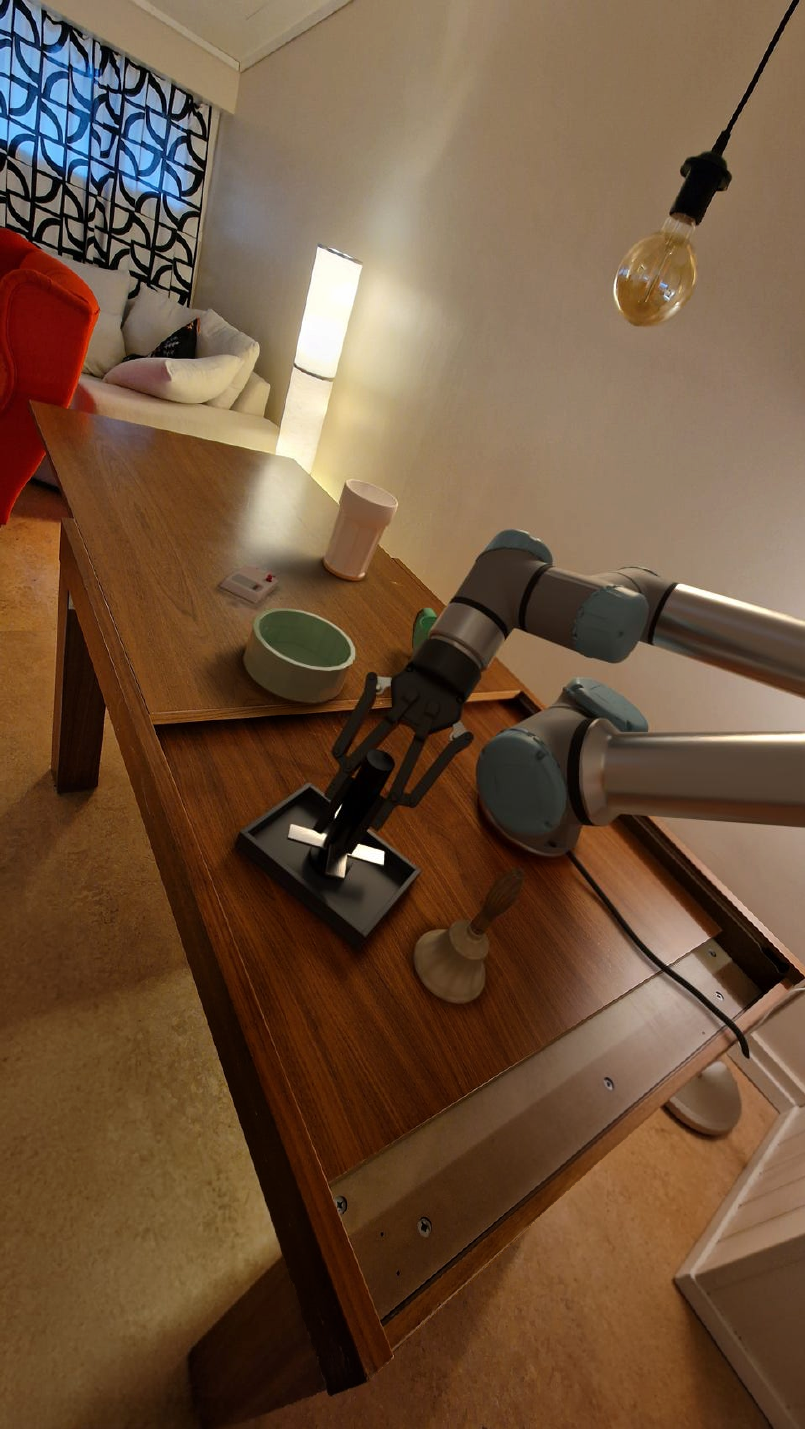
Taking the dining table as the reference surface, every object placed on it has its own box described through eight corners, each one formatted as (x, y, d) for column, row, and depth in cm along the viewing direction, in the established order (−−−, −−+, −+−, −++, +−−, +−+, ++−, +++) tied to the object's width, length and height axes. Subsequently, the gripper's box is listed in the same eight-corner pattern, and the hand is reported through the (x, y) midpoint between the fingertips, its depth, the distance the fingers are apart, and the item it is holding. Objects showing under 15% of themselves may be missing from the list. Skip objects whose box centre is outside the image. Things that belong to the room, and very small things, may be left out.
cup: (375, 587, 132) (406, 512, 122) (326, 578, 126) (355, 498, 117) (359, 561, 140) (387, 487, 130) (312, 551, 134) (338, 473, 124)
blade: (377, 840, 75) (431, 745, 66) (372, 910, 67) (433, 812, 58) (289, 814, 73) (333, 711, 64) (273, 883, 65) (320, 776, 56)
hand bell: (398, 964, 64) (466, 869, 55) (436, 917, 71) (502, 825, 62) (462, 1021, 62) (543, 932, 53) (495, 967, 68) (572, 880, 60)
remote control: (213, 594, 105) (217, 578, 103) (252, 566, 118) (256, 551, 116) (249, 611, 105) (253, 596, 103) (283, 581, 118) (288, 567, 117)
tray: (413, 883, 73) (421, 870, 72) (356, 951, 63) (365, 937, 62) (302, 795, 77) (309, 781, 76) (233, 846, 67) (239, 831, 66)
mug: (456, 698, 110) (481, 653, 104) (407, 693, 105) (431, 645, 99) (427, 650, 120) (449, 606, 114) (382, 642, 115) (403, 596, 109)
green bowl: (359, 686, 101) (374, 652, 97) (299, 720, 88) (314, 682, 85) (287, 634, 104) (298, 599, 101) (220, 659, 92) (230, 621, 88)
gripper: (512, 703, 70) (399, 885, 65) (392, 630, 72) (274, 802, 67) (525, 684, 63) (398, 888, 58) (391, 604, 65) (258, 794, 60)
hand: (332, 841), depth 63 cm, fingers closed on blade, 3 cm apart
